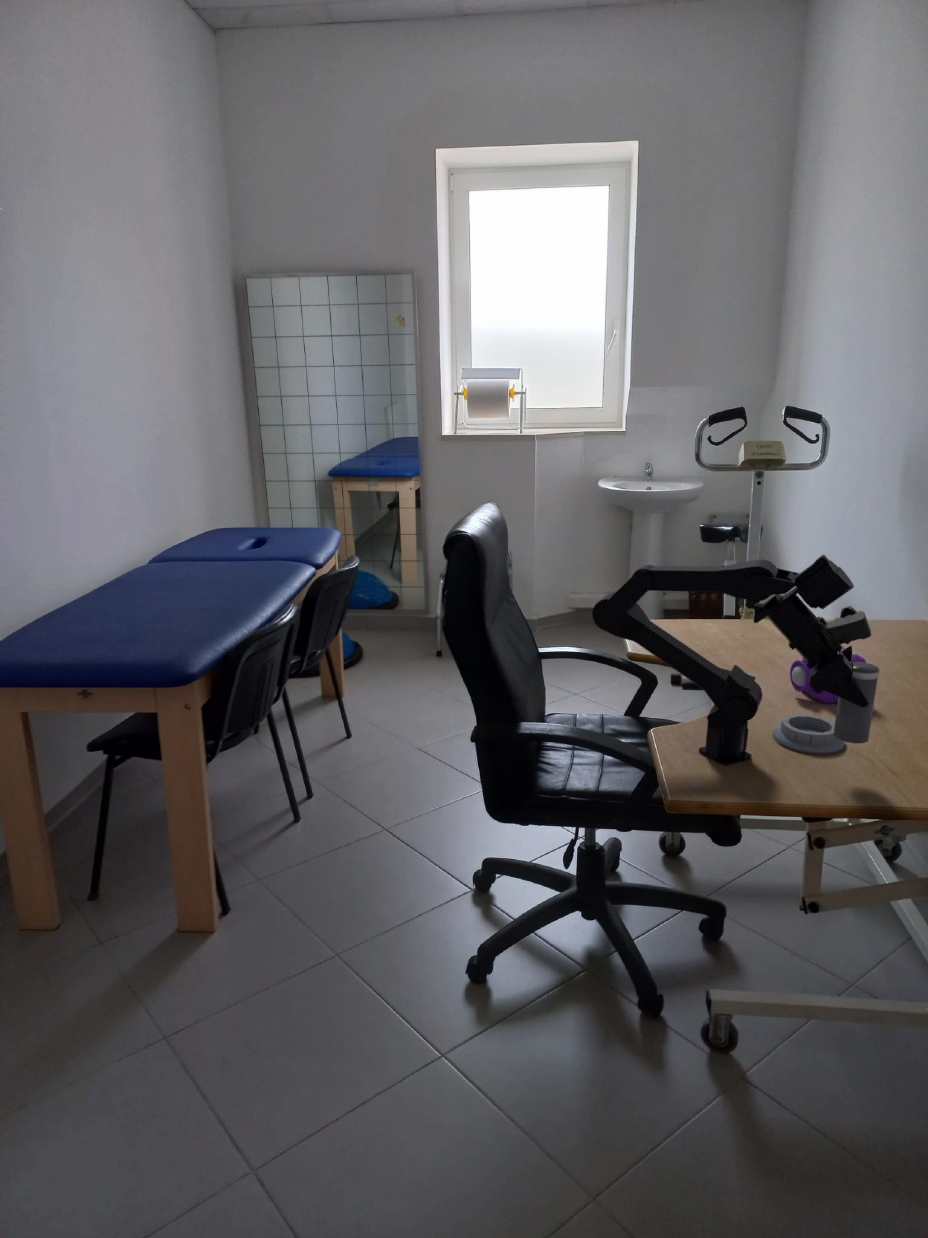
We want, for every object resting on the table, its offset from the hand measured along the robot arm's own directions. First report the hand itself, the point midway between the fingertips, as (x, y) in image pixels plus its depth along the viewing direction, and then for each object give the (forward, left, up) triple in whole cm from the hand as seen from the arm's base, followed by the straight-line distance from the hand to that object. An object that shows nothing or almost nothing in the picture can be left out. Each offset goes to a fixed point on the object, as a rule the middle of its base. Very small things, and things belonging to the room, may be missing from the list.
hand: (865, 699), depth 136 cm
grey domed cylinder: (-1, +1, -7) cm, 7 cm away
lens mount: (+5, +14, -14) cm, 20 cm away
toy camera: (+25, +28, -14) cm, 40 cm away
